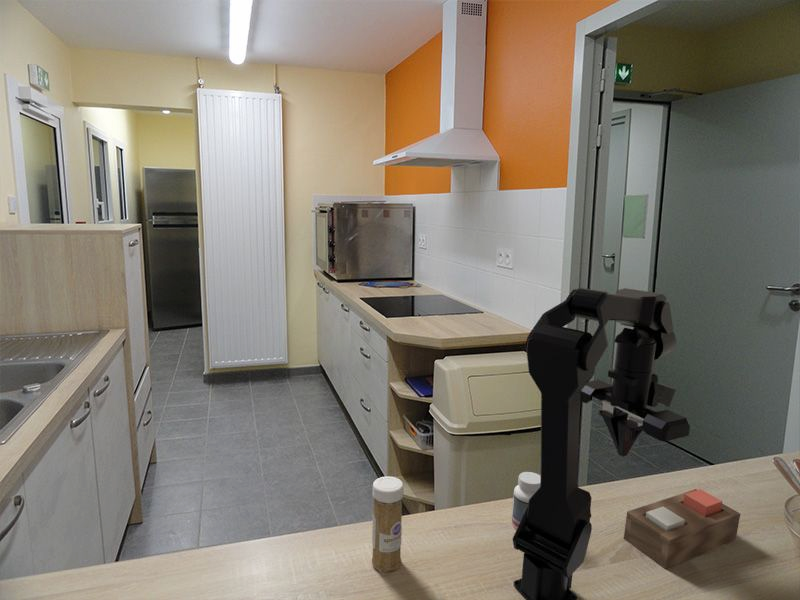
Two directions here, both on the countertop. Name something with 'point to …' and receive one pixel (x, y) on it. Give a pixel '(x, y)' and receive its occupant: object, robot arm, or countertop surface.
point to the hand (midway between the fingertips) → (622, 455)
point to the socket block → (680, 532)
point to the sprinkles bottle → (387, 523)
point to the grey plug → (665, 518)
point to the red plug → (702, 503)
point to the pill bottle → (524, 495)
